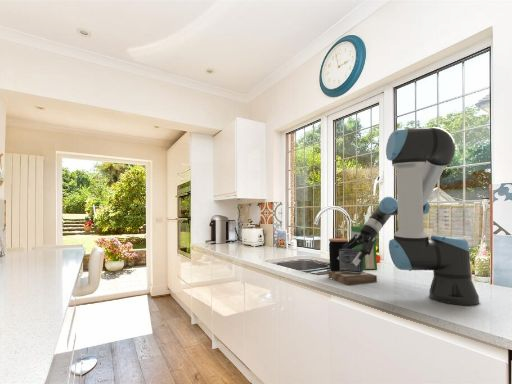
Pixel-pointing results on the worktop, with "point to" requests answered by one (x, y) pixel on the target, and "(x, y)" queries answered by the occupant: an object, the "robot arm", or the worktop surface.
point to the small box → (349, 260)
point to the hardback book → (368, 260)
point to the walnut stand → (352, 277)
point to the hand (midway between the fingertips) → (346, 262)
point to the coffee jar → (335, 252)
